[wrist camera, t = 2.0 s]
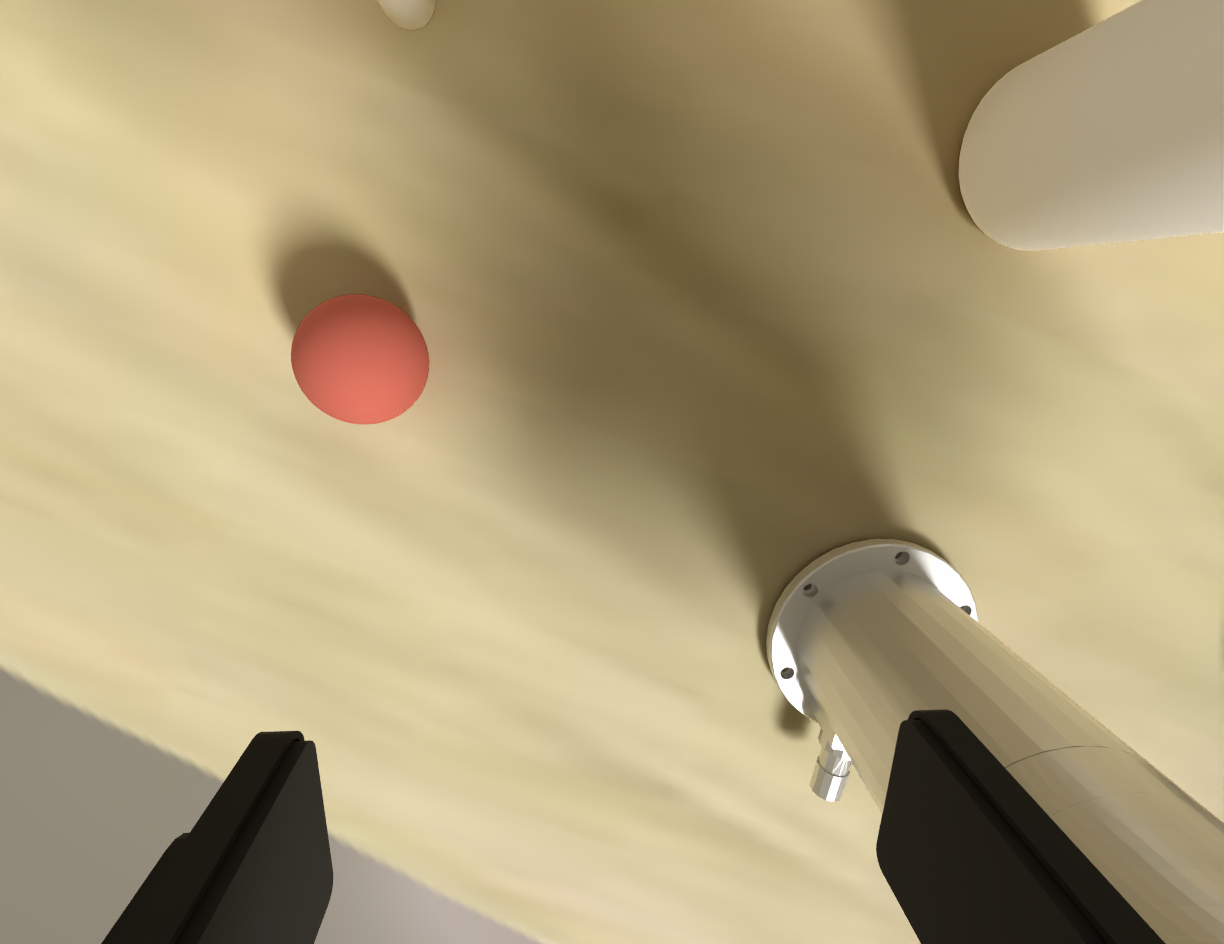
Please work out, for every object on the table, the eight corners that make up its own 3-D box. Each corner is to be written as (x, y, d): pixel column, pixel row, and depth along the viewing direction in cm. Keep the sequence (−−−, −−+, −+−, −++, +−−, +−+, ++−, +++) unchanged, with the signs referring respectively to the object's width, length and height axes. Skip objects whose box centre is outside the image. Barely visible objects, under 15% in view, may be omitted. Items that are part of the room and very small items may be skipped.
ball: (435, 420, 33) (405, 446, 27) (319, 402, 33) (264, 425, 27) (446, 305, 32) (416, 308, 26) (325, 284, 31) (267, 282, 25)
